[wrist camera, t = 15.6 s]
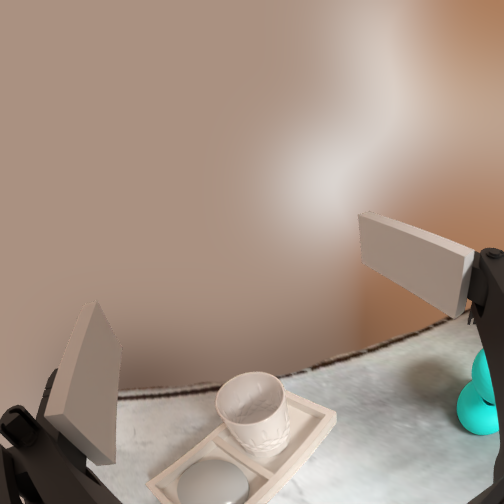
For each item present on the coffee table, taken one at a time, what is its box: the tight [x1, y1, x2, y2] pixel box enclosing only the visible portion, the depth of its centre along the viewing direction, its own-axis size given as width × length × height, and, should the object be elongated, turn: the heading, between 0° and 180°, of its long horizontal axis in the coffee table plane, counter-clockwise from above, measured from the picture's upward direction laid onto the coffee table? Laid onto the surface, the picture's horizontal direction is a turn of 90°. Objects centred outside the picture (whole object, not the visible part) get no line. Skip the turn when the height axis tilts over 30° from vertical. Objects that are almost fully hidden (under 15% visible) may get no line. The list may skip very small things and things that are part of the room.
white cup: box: [215, 372, 291, 458], centre depth 30 cm, size 8×8×10 cm
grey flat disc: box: [177, 460, 250, 504], centre depth 25 cm, size 9×9×1 cm
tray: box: [145, 390, 336, 504], centre depth 29 cm, size 24×12×3 cm, turn 138°
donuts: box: [457, 349, 499, 435], centre depth 23 cm, size 10×10×10 cm
